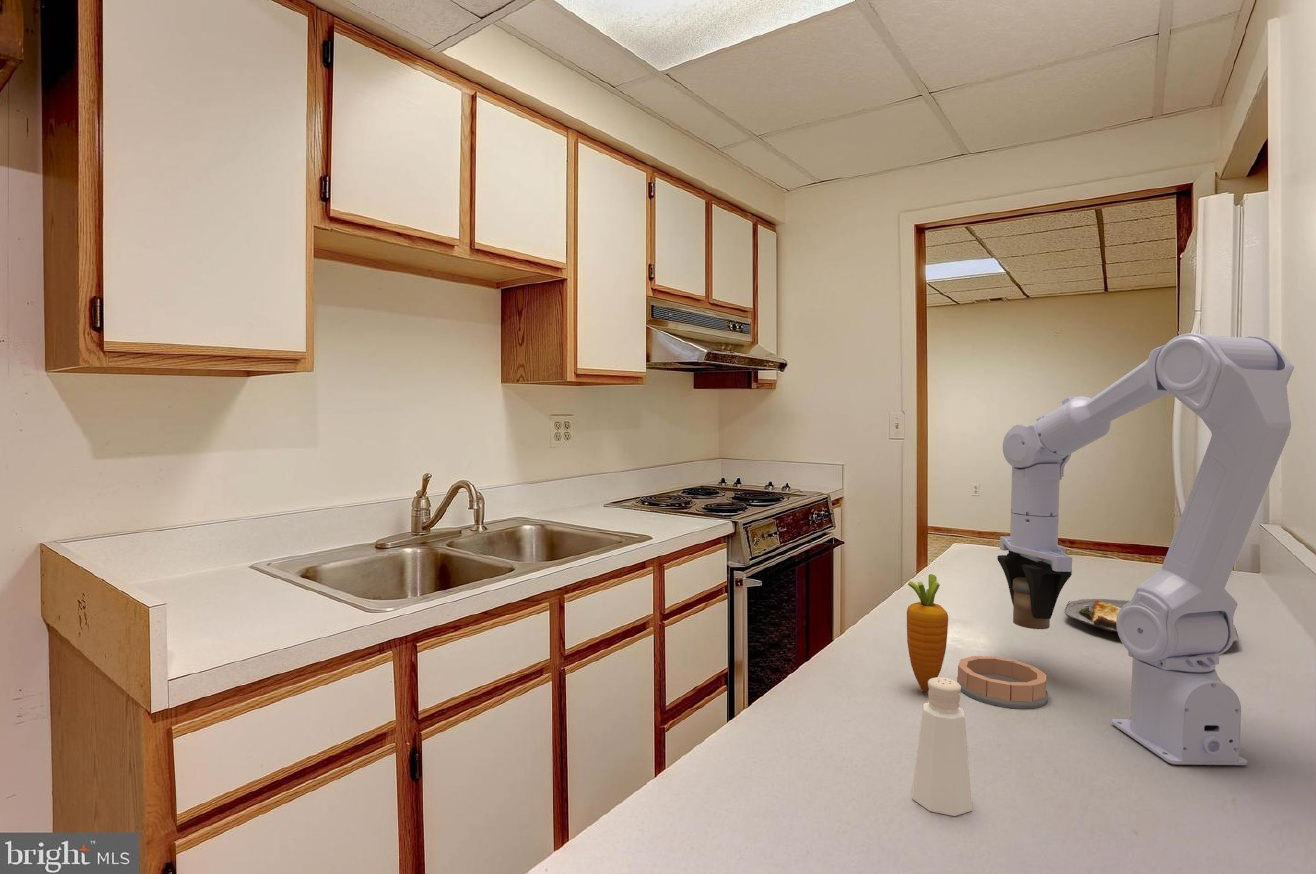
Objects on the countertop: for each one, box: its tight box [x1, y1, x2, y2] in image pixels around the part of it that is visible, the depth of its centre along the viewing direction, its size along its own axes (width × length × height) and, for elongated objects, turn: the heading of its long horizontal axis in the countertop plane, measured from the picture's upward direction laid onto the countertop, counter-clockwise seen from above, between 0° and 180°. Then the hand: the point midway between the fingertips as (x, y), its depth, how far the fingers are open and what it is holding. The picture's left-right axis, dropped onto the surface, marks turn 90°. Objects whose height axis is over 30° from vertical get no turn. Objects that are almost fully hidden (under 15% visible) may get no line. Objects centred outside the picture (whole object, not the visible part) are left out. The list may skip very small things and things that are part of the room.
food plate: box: [1063, 598, 1240, 644], centre depth 115 cm, size 25×23×4 cm
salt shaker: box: [911, 676, 973, 817], centre depth 63 cm, size 5×5×11 cm
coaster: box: [956, 655, 1049, 710], centre depth 88 cm, size 10×10×3 cm
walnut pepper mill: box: [1012, 577, 1051, 630], centre depth 94 cm, size 5×5×6 cm
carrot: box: [906, 573, 949, 693], centre depth 87 cm, size 5×5×15 cm
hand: (1031, 612), depth 94 cm, fingers closed on walnut pepper mill, 5 cm apart
